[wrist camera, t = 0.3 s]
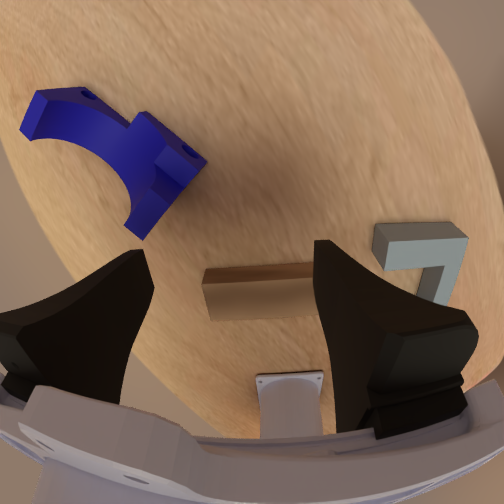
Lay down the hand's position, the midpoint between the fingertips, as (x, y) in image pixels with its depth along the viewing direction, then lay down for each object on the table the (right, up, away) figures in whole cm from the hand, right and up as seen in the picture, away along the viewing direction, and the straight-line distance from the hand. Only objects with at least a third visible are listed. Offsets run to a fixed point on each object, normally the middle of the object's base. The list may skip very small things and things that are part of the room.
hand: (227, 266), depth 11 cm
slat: (+3, -2, +13) cm, 13 cm away
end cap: (+15, -2, +12) cm, 19 cm away
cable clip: (-8, +9, +7) cm, 14 cm away
